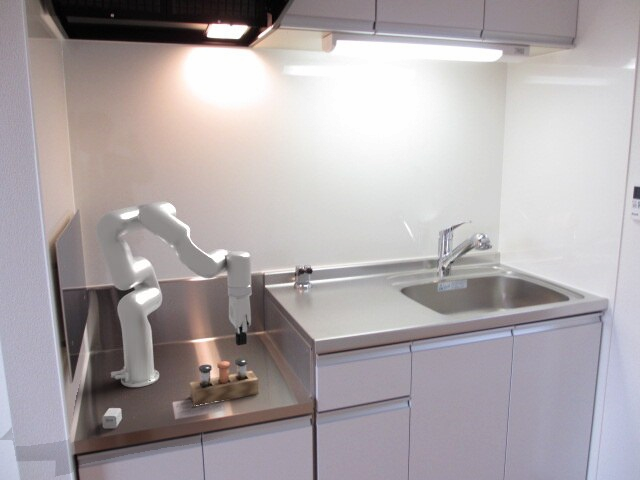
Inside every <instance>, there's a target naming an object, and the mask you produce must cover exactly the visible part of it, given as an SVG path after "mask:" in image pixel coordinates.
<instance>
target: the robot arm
mask: <svg viewBox="0 0 640 480" xmlns="http://www.w3.org/2000/svg"><path fill="white" fill-rule="evenodd" d="M142 230H147V231H149V232H150V233H151V234H152V235H154V236H155V237H157V238H158V239H159V240H161V241H162V242H164V243H165V244H167V246H169V247H170V248H172V249H173V251H174V253H175V255H176V256H177V258H178V259H179V261H180V262H181V264H182V265H184V266H185V267H186V268H187V269H189V270H190V271H191V272H193V273H194V274H196V275H198V276H200V277H201V278H204V279H208V280H209V279H214V278H215V277H218V276H219V275H221V274H222V273H225V272H226V274H227V275H226V277H227V279H226V280H227V296H228V320H229V321H230V323H231V324H232V325H233V327H234V328H235V344H236V346H242V345H244V346H245V345H246V344H247V342H248V339H247V332H248V327H250V326H251V324H252V316H251V314H252V313H251V312H252V311H251V302H250V296H252V294H253V293H252V265H251V264H252V262H251V261H252V258H251V255H250V253H249V252H247V251H239V250H237V251H233V250H227V249H223V248H216V249H213V250H212V251H210V252H208V253H206V252H204V250H202V249H200V248H199V247H198V246H196V245H195V244H194V243H193V241H192V239H191V237H190V234H191V228H190V226H188V225H187V224H185V223H184V222H183V221H181V220H180V219H179V218H177V210H176V207H175V206H174V205H173V204H171V203H170V202H168V201H164V200H163V201H155V202H151V203H145V204H138V205H133V206H128V207H123V208H119V209H115V210H111V211H109V212H106V213H105V214H104V215H102V216H101V217H100V218H99V219H98V221H97V222H96V226H95V237H96V240H97V243H98V245H99V247H100V249H101V251H102V254H103V257H104V259H105V263H106V266H107V270H108V272H109V276H110V279H111V281H112V283H113V285H114V287H115V288H116V289H117V290H119V291H127V290H130V289H132V288H134V290H133V291H131V292H129V293H127V294H126V295H124V296H123V297H122V298H121V299H119V302H118V305H117V316H118V318H119V322H120V327H121V333H122V334H121V335H122V345H123V346H122V347H123V361H124V365H123V368H122V369H120V370H118V371H111V372H110V375H111V376H110V377H111V378H112V379H113V378H115V380H120V383H121V384H122V385H123V386H125V387H128V388H142V387H146V386H149V385H152V384H154V383H156V382H157V381H158V380H159V378H160V372H159V371H158V370H156V368H155V363H154V349H153V348H154V346H153V331H152V327H151V324H150V322H149V319H148V316H149V315H150V314H151V313H154V312H155V311H156V310H158V308H160V307H161V305H162V302H163V294H162V289H161V287H160V284H159V281H158V277H157V274H156V272H155V268H154V266H153V265H152V263H151V262H150V261H149V260H148V259H147V258H146V257H143V256H141V255H139V256H133V252H132V250H131V247H130V246H129V244H128V242H127V241H126V240H125V239H124V238H123V236H125V235H126V234H131V233H134V232H137V231H138V232H139V231H142Z"/></svg>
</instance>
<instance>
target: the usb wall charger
mask: <svg viewBox="0 0 640 480" xmlns="http://www.w3.org/2000/svg"><path fill="white" fill-rule="evenodd" d="M101 419H102V428H104V429H117V428H118V426H119V424H120V423H121V421H122V419H123V414H122V408H121V407H110V408H108V409H107V410H106V412H105V413H104V414H103V416H102V417H101Z"/></svg>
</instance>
